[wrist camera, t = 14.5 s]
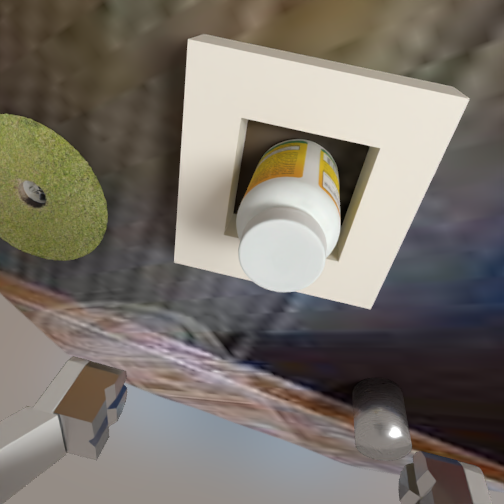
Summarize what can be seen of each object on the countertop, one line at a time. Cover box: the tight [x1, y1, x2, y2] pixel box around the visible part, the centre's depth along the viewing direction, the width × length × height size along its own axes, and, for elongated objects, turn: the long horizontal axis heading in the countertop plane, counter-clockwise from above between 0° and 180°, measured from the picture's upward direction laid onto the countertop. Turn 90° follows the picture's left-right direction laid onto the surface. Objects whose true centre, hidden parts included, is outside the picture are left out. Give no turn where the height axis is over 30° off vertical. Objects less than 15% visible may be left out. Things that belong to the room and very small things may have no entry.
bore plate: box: [174, 34, 469, 309], centre depth 24 cm, size 14×14×3 cm
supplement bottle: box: [236, 139, 341, 292], centre depth 21 cm, size 5×5×10 cm
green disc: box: [0, 114, 108, 261], centre depth 28 cm, size 11×11×2 cm
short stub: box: [352, 378, 412, 461], centre depth 34 cm, size 4×4×5 cm
